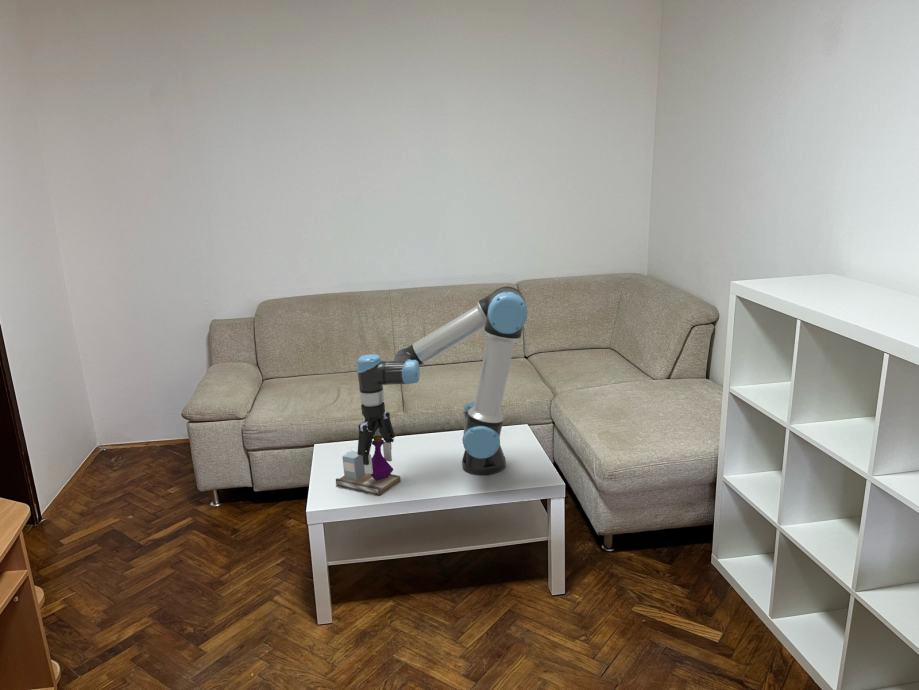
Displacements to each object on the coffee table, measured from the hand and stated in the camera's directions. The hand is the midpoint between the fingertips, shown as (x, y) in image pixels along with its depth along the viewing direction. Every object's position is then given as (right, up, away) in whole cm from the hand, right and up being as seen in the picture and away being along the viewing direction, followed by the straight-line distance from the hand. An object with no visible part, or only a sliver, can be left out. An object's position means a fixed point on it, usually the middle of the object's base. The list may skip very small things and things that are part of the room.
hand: (378, 466), depth 237 cm
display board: (-4, -6, +5) cm, 9 cm away
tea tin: (-9, -4, +6) cm, 11 cm away
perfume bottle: (0, -4, +1) cm, 4 cm away
